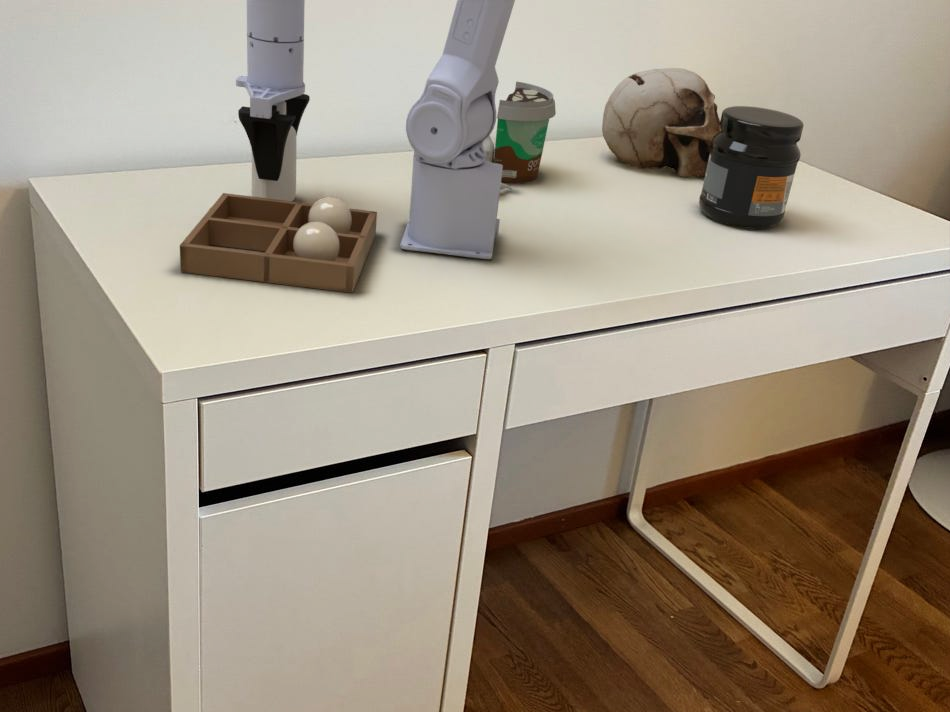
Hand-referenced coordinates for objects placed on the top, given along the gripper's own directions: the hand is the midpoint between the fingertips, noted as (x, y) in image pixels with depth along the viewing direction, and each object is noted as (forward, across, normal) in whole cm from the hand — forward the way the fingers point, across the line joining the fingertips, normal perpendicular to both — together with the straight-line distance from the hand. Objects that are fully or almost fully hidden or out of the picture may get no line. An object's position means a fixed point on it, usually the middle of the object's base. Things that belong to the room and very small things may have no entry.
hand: (274, 170), depth 120 cm
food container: (+4, -22, +27) cm, 35 cm away
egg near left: (+1, +11, +8) cm, 13 cm away
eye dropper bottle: (+4, 0, 0) cm, 4 cm away
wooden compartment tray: (+4, +14, +4) cm, 15 cm away
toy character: (0, -16, +19) cm, 25 cm away
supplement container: (+4, -16, +54) cm, 56 cm away
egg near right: (+1, +18, +8) cm, 20 cm away
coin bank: (+4, -36, +47) cm, 59 cm away
